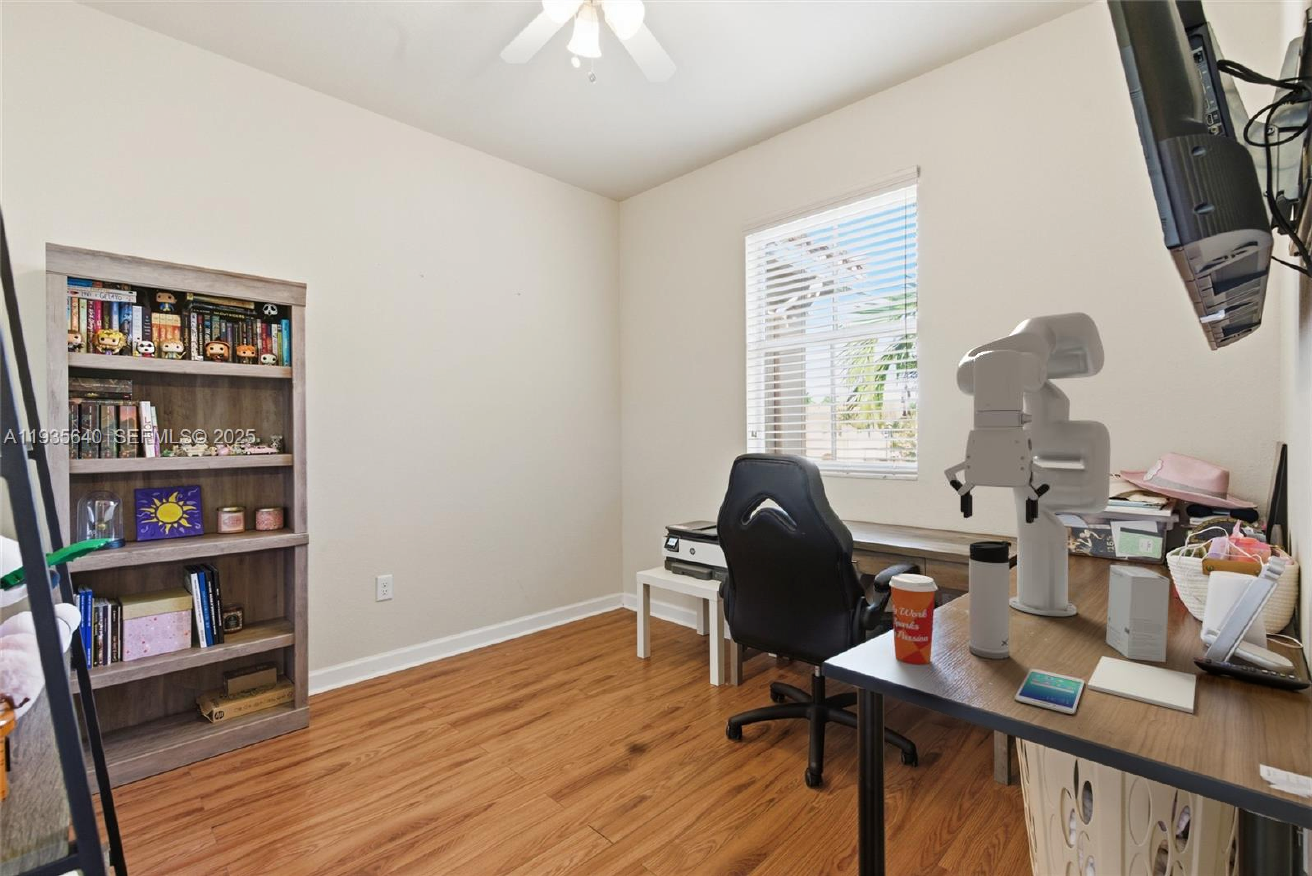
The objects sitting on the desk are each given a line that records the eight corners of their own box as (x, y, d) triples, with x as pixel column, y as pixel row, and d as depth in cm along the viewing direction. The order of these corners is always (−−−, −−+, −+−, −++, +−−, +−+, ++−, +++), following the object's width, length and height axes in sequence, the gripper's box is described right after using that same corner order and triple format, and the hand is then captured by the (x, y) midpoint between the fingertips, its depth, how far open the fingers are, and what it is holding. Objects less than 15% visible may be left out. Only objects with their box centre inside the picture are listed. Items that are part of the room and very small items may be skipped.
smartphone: (1085, 679, 93) (1075, 713, 82) (1085, 685, 93) (1075, 719, 82) (1030, 667, 98) (1013, 698, 87) (1030, 673, 98) (1013, 703, 87)
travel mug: (1017, 661, 102) (1017, 545, 102) (975, 658, 103) (975, 543, 103) (1003, 648, 108) (1003, 538, 108) (964, 645, 110) (964, 537, 109)
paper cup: (880, 657, 104) (880, 577, 104) (902, 647, 109) (902, 571, 109) (924, 671, 98) (924, 586, 98) (945, 659, 103) (946, 579, 103)
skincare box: (1105, 643, 111) (1105, 564, 111) (1143, 646, 109) (1143, 565, 109) (1129, 660, 102) (1129, 574, 102) (1170, 663, 101) (1170, 576, 101)
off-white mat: (1102, 659, 103) (1102, 656, 103) (1195, 679, 95) (1195, 675, 95) (1087, 688, 91) (1087, 684, 91) (1192, 713, 83) (1193, 709, 83)
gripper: (1060, 421, 101) (1060, 522, 101) (951, 422, 112) (951, 513, 112) (1053, 421, 95) (1053, 527, 95) (938, 422, 107) (938, 517, 107)
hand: (998, 519), depth 104 cm, fingers open, 9 cm apart
